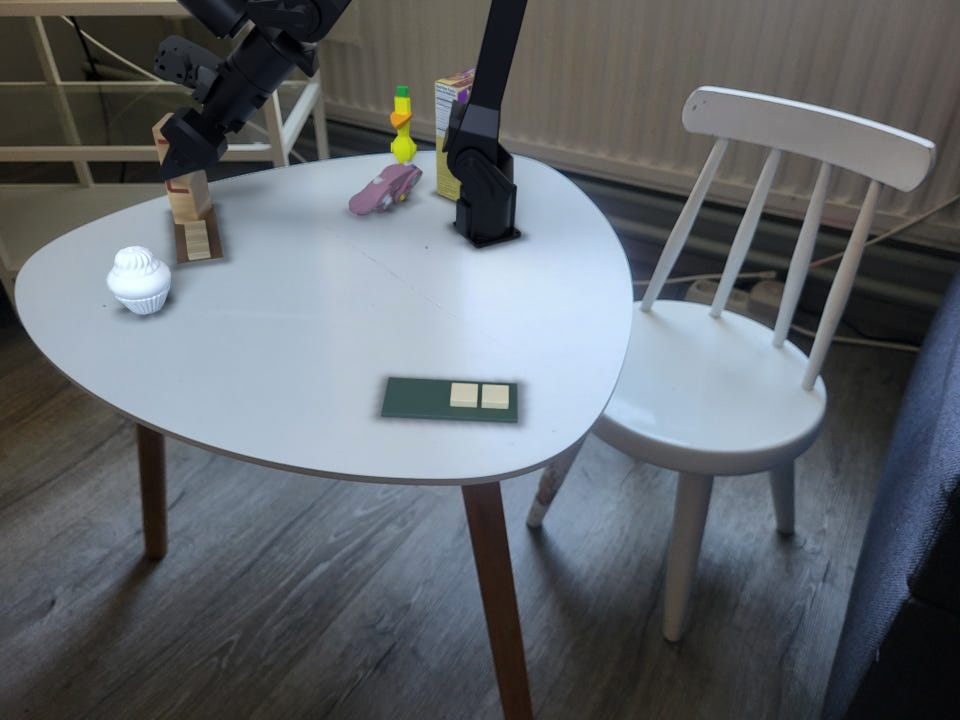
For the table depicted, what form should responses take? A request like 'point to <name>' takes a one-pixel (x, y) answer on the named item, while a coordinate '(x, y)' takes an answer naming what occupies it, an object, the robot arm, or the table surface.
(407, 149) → the toy figure
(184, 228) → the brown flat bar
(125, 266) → the muffin
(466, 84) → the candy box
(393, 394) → the dark green board
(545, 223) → the table surface
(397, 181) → the pink toy car
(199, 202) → the wooden block
